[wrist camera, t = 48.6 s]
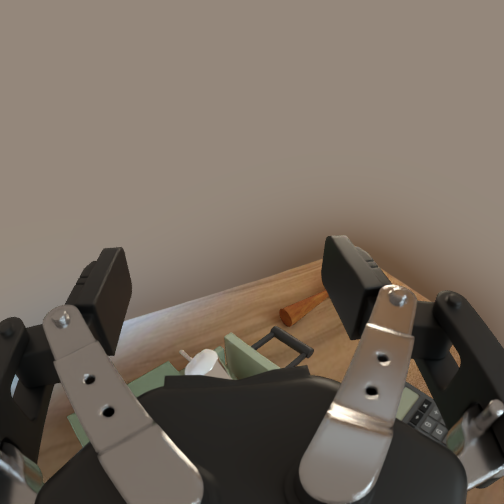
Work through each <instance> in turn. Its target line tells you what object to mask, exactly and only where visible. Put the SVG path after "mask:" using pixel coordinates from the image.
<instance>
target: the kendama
mask: <svg viewBox="0 0 504 504" xmlns="http://www.w3.org/2000/svg"><path fill="white" fill-rule="evenodd" d="M328 296H329V295H328V293H327V291H326V290H325V291H323V292H321V293H318V294H316V295H314V296H311V297H309V298H307V299H304V300H302V301H299V302H297V303H295V304H292V305H290V306H287V307H285V308H283V309H280V311H279V314H280V318H281V320H282V321H283V323H284V324H285V325H286V326H289V327H290V326H292V325H293V324H295V323H296V322H297V321H298V320H300V319H301V318H302V317H303V316H305V315H306V314H307V313H308V312H310V311H311V310H312V309H313V308H315V307H316V306H317V305H318V304H320V303H321V302H322V301H323V300H325V299H326V298H327V297H328Z"/></svg>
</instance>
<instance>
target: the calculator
mask: <svg viewBox="0 0 504 504" xmlns="http://www.w3.org/2000/svg"><path fill="white" fill-rule="evenodd" d="M396 418H398V419H399V420H401V421H403V422H404V423H406V424H408V425H409V426H411V427H413V428H414V429H416V430H418V431H419V432H421V433H423V434H424V435H426V436H428V437H429V438H431V439H433V440H435V441H436V442H438V443H440V444H442V445H443V446H445V447H447V445H446V437H447V434H448V430H447V428H446V425H445V423H444V421H443V419H442V416H441V414H440V412H439V410H438V408H437V405H436V403H435V401H434V399H432V398H431V397H429V396H428V395H426V394H424V393H423V392H421V391H420V390H418V389H417V388H415V387H414V386H412V385H410V384H409V383H407V382H406V381H405V385H404V389H403V393H402V397H401V401H400V404H399V408H398V411H397V415H396Z"/></svg>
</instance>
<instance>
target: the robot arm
mask: <svg viewBox="0 0 504 504" xmlns="http://www.w3.org/2000/svg"><path fill="white" fill-rule="evenodd" d="M321 276H322V282H323V285H324V287H325V289H326V291H327V293H328V295H329V297H330V299H331V301H332V303H333V305H334V307H335V309H336V311H337V313H338V315H339V317H340V319H341V321H342V323H343V325H344V327H345V329H346V332H347V334H348V336H349V338H350V340H356V339H360V341H359V344H358V346H357V349H356V351H355V354H354V356H353V358H352V361H351V363H350V365H349V368H348V370H347V372H346V374H345V376H344V379H343V381H342V383H339V382H337V381H335V380H332V379H329V378H325V377H321V376H315V375H310V372H309V369H308V366H307V365H305V366H297V367H289V368H280V369H272V370H269V371H266V372H263V373H260V374H257V375H253V376H250V377H247V378H243V379H239V380H231V379H224V378H217V377H211V376H205V375H167V376H165V379H164V386H161V387H158V388H155V389H152V390H150V391H147V392H145V393H143V394H141V395H140V396H138V397H137V398H136V397H135V396H134V394H133V393H132V392H131V390H130V389H129V387H128V386H127V384H126V383H125V382H124V380H123V379H122V377H121V376H120V374H119V373H118V371H117V370H116V368H115V367H114V365H113V364H112V362H111V361H110V359H109V357H108V356H114V355H115V351H116V348H117V344H118V340H119V336H120V333H121V329H122V325H123V322H124V318H125V315H126V312H127V308H128V305H129V301H130V298H131V294H132V283H131V278H130V274H129V270H128V265H127V261H126V257H125V252H124V250H123V248H122V247H116V248H105V249H103V250H102V252H101V254H100V256H99V258H98V259H97V261H93V262H91V263H90V264H89V265H88V266H87V267H86V268H85V269H84V270H83V272H82V274H81V275H80V278H79V279H78V281H77V283H76V285H75V286H74V288H73V290H72V292H71V294H70V295H69V298H68V299H67V301H66V303H65V305H62V306H58V307H56V308H54V309H52V310H51V311H50V312H48V314H47V315H46V316H45V317H44V319H43V324H41V325H37V326H33V327H29V328H25V326H24V324H23V322H22V320H21V319H20V318H17V317H11V318H7V319H5V320H3V321H1V322H0V504H466V497H467V492H468V491H470V490H471V489H473V488H475V487H476V488H485V487H488V486H489V485H491V484H492V483H494V482H495V481H497V480H498V479H500V478H501V477H503V476H504V349H503V347H502V346H501V344H500V343H499V342H498V340H497V339H496V337H495V336H494V335H493V333H492V332H491V331H490V330H489V328H488V327H487V325H486V324H485V323H484V321H483V320H482V319H481V317H480V316H479V315H478V314H477V312H476V311H475V310H474V308H473V307H472V306H471V305H470V303H469V302H468V301H467V300H466V299H465V298H464V297H463V296H462V295H460V294H458V293H456V292H453V291H442V292H440V293H438V295H437V297H436V300H435V302H426V301H417V298H416V296H415V295H414V293H413V292H411V291H410V290H409V289H407V288H405V287H402V286H399V285H393V284H392V283H391V282H390V280H389V279H388V278H387V277H386V275H385V274H384V273H383V271H382V270H381V269H380V268H378V265H377V264H376V263H375V262H374V260H373V259H372V258H371V256H370V255H369V254H368V253H367V252H365V251H364V250H362V249H361V248H359V247H355V246H354V245H353V244H352V242H351V241H350V240H349V239H348V238H347V236H345V235H344V236H328V237H327V238H326V241H325V249H324V256H323V263H322V270H321ZM452 344H453V345H454V347H455V348H456V350H457V352H458V353H459V355H460V359H461V365H460V368H459V367H458V365H457V363H456V361H455V360H454V358H453V356H452V355H451V353H450V351H449V350H450V348H451V346H452ZM410 359H414V360H415V362H416V364H417V366H418V368H419V370H420V372H421V374H422V376H423V378H424V380H425V382H426V384H427V386H428V389H429V391H430V393H431V395H432V397H433V399H434V401H435V403H436V405H437V408H438V410H439V412H440V414H441V416H442V419H443V421H444V423H445V425H446V428H447V430H448V434H447V437H446V445H447V447H445V446H443V445H442V444H440V443H438V442H436V441H435V440H433V439H431V438H429V437H428V436H426V435H424V434H423V433H421V432H419V431H418V430H416V429H414V428H413V427H411V426H409V425H408V424H406V423H404V422H403V421H401V420H399V419H398V418H396V415H397V411H398V408H399V404H400V401H401V397H402V393H403V389H404V385H405V381H406V377H407V373H408V369H409V364H410ZM15 374H16V376H17V377H18V378H19V380H18V383H17V386H16V389H15V392H14V395H13V398H12V396H11V384H12V382H13V379H14V376H15ZM56 383H62V385H63V388H64V390H65V392H66V394H67V397H68V399H69V401H70V403H71V405H72V407H73V409H74V412H75V414H76V416H77V418H78V420H79V422H80V423H81V425H82V427H83V429H84V431H85V433H86V435H87V437H88V439H89V440H90V441H89V442H88V443H87V444H86V445H85V446H84V447H83V448H82V449H81V450H80V451H79V452H78V453H77V454H76V455H75V456H74V457H72V458H71V459H70V460H69V461H68V462H67V463H66V464H65V465H64V466H63V467H62V468H61V469H60V470H59V471H57V472H56V473H55V474H54V475H53V476H52V477H51V478H50V479H49V480H48V481H47V482H46V483H45V484H44V483H43V477H42V473H41V470H40V468H39V467H38V466H37V460H38V454H39V449H40V443H41V438H42V433H43V428H44V424H45V419H46V415H47V411H48V406H49V402H50V399H51V395H52V391H53V387H54V384H56Z"/></svg>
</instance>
